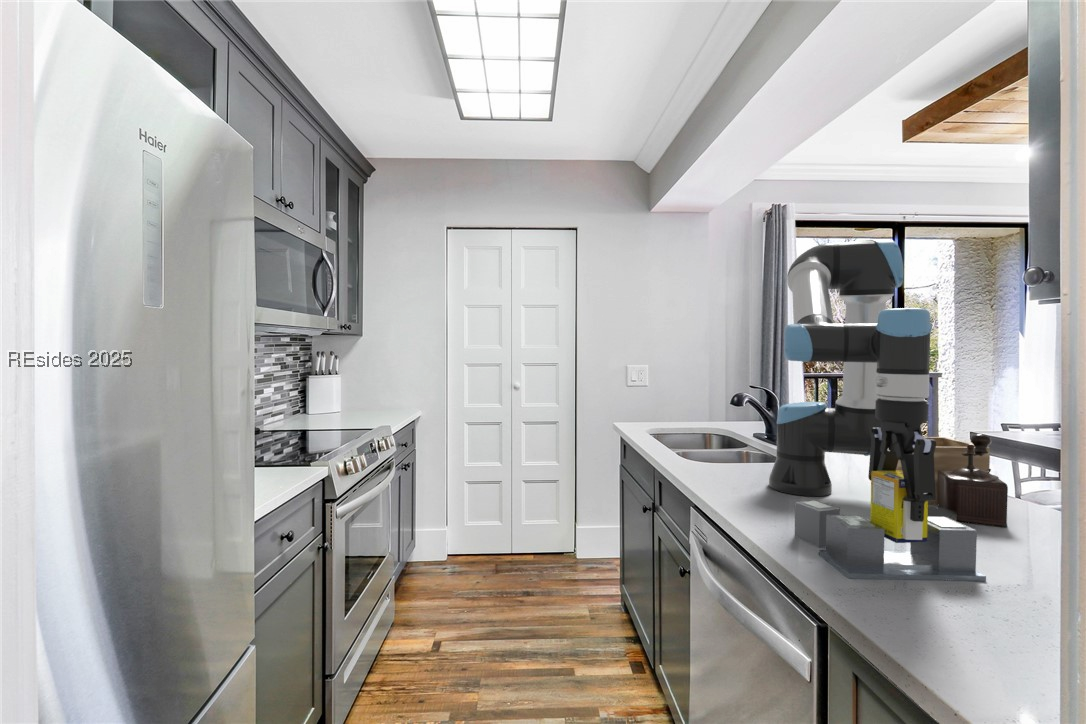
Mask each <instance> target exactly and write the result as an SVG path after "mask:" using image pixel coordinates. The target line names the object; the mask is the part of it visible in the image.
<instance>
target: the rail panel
mask: <svg viewBox="0 0 1086 724" xmlns="http://www.w3.org/2000/svg"><path fill="white" fill-rule="evenodd" d="M884 531H885V529H884V528H882V527H880V526H878V525H877V524H875V523H873V522H871V520H869V519H868V518H866V517H864V516H862V515H855V514H840V515H826V547H825V549H818V555H819V556H820V557H822V559H824V560H825V561H826V562H828V563H829V564H830V565H831V566H833V567H834V568H835V569H836V570H837V571H839V572H840V573H841V574H843V576H845V577H846V578H847V579H857V580H858V579H865V580H866V579H867V580H868V579H869V580H870V579H871V580H909V581H910V580H913V581H914V580H915V581H918V580H920V581H923V580H924V581H926V580H927V581H961V582H962V581H964V582H965V581H966V582H973V581H975V582H987V576H986V575H985V574H983V573H981V572H979V571H978V570H977V566H976V565H977V544H978V542H977V540H978V539H977V537H978V536H977V535H978V531H977V529H976V528H972V527H970V526H968V525H966V524H963V523H962V522H956V521H954V520H952V519H950V518H947V517H934V516H928V524H927V541H926V542H910V551H908V550H907V551H906V550H905V551H903V550H902V551H901V550H900V551H899V550H897V551H896V550H885V537H884Z"/></svg>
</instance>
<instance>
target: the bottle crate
mask: <svg viewBox="0 0 1086 724" xmlns="http://www.w3.org/2000/svg"><path fill="white" fill-rule="evenodd" d="M923 437H924V438H926V439H933V440H935V441H936V447H935V452H934V471H935V496H936V498H935V500H934V501H928V505H938V497H937V481H938V470H940V471H954V470H956V469H959V468H962V467H967V466H968V456H963V455H962V453H965V452H967V450H968V449H967V446H968V445H969V444H972V445H974V444H973V443H972V442H966V441H963V440H958V439H953V438H948V437H945V436H923ZM974 449H975V446H974ZM987 450H988V452H989V454H984V455H982V456H979V455H976V456H973V464H974V467H977V468H979V469H982V470H984V471H988V470H989V469H990V462H991V461H990V459H991V458H990V457H991V448H990V447H989V446H988V447H987ZM912 454H914V453H912ZM896 470H900V471H902V466H901V461H900V460H898V464H897V468H896Z"/></svg>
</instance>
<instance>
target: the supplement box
mask: <svg viewBox="0 0 1086 724" xmlns="http://www.w3.org/2000/svg"><path fill="white" fill-rule="evenodd" d="M914 494H915V492H914ZM905 497H907V492H906V487H905V481H904V476H903V471H900V470H896V471H872V472H871V481H870V521H871V522H873V523H875V524H877V525H878V526H880V527H882V528H884V529H885V531H884V539H887V540H889V541H891V542H893V543H896V544H907V543H911V542H926V541H927V524H928V507H929V504H928V501H926V502H925V503H924V520H923V531H922V540H905V539H904V538H903V502H904V499H903V498H905Z"/></svg>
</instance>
